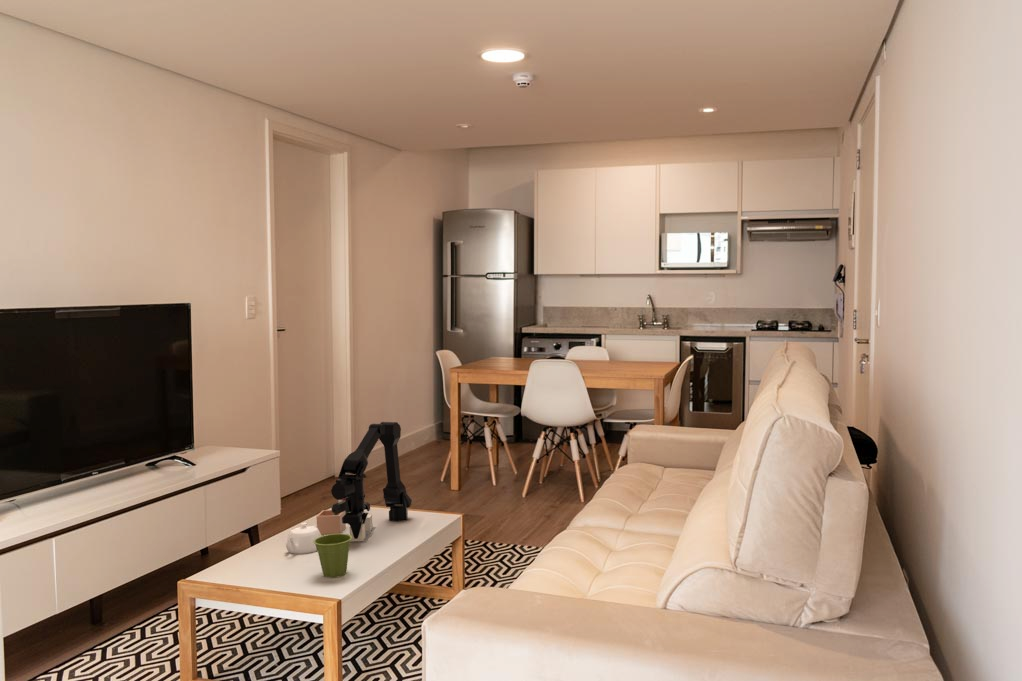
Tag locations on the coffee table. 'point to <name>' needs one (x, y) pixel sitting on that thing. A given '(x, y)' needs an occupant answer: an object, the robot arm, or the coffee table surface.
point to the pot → (330, 522)
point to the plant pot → (333, 553)
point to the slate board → (367, 535)
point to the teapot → (302, 539)
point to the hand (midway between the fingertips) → (357, 536)
